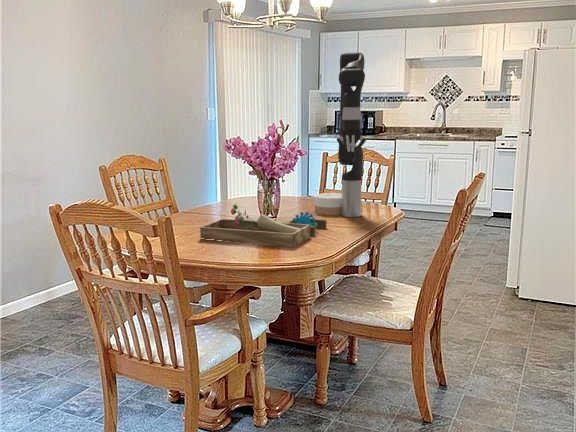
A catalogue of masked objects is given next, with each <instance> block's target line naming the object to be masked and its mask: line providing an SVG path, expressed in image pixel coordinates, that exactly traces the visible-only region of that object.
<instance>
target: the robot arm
mask: <svg viewBox="0 0 576 432" xmlns="http://www.w3.org/2000/svg"><path fill="white" fill-rule="evenodd" d="M364 70H365V56H364V53H363V52H357V51H355V52H352V51H351V52H342V53H340V58H339V73H338V83H339V84H340V96H339V97H340V100H339V122H340V123H339V125H340V127H339V137H337V138H336V141H337V142H338V151H337V152H338V155H337V156H338V161H339V164H340V165H342V166H352V168H351V170H349V171H347V172H344V173H342V174H341V193H342V215H341V217H346V218H357V217H359V218H360V217H361V216H362V177H363V166H364V165H363V161H364V151H363V148H362V147H363V145H364V144H365V143H366V142H367V140H368V139H367V137H364V136H363V133H362V126H361V125H362V123H361V122H362V116H361V115H362V114H361V113H362V112H361V111H362V109H361V94H362V90H363V87H364V83H365V79H366V74H365V71H364ZM353 87H355V89H353ZM358 141H360V142H359V143H358ZM357 143H358V145H357Z"/></svg>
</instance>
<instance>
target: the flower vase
mask: <svg viewBox="0 0 576 432" xmlns="http://www.w3.org/2000/svg"><path fill="white" fill-rule="evenodd" d="M238 207H239V206H238V205H237V203H236V202H235V204H234V205H233V204H232V208H231V210H230V213H231V215H232V216H234V215H235V214H236V213H237V215H236V216H235V217H234V220H235V224H236V225H237V226H238V227H239V226H240V227H241V225H242V223H244V221H250V222H254V224H246V223H245V224H243V226H242V227H244V226H246V225H253V226H254V225H256V223H257V224H258V227H259V228H262V229H268V230H275V231H278V232H280V233H294V232H296V231H298V230H299V229H300V228H296V227H292V226H288V225H285V224H281V223H282V222H279V221H277V220H275V219H273V218H271V217H269V216H268V215H266V214H264V213H261V214H260V216H259V217H258V218H257V220H254V219H252V218H251V217H249V215H247V212H246V209H245V210H244V214H243V213H242V212H240V210H239V208H238ZM237 210H238V211H237ZM244 216H245V217H246V218H245V217H244ZM255 221H257V222H255ZM251 228H253V227H250V228H249V229H248V230H251V231H252V229H251Z"/></svg>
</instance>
